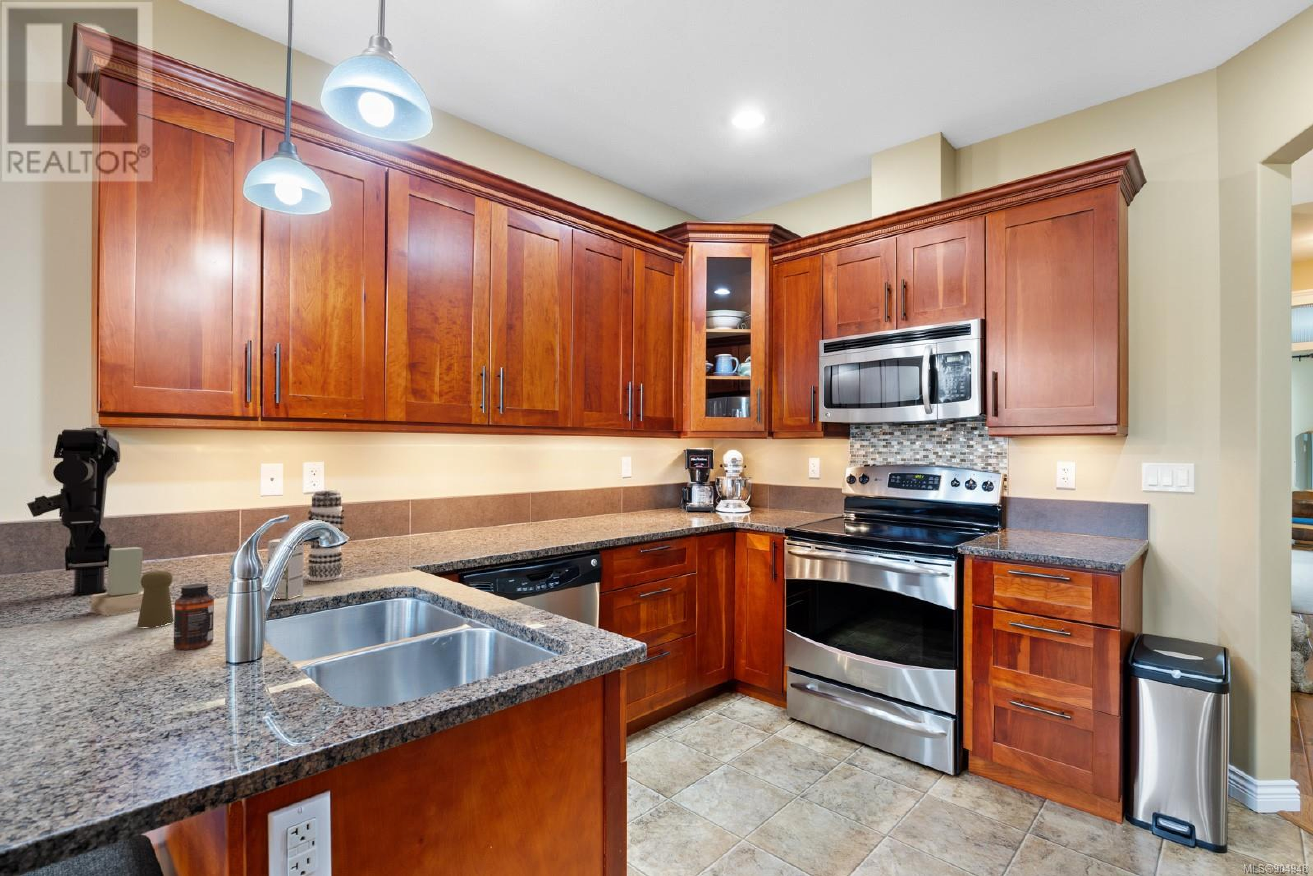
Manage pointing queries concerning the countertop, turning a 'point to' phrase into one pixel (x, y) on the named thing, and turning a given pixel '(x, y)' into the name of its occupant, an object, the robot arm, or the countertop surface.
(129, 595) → the maple block
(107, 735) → the countertop surface
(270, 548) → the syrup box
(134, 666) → the countertop surface
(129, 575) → the sage block
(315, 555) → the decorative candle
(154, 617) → the cork
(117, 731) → the countertop surface
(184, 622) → the supplement bottle
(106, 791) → the countertop surface
